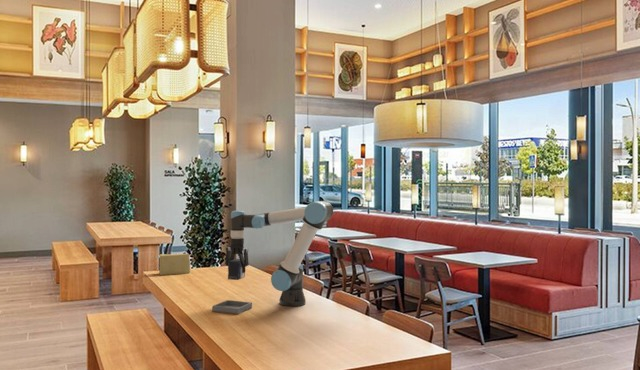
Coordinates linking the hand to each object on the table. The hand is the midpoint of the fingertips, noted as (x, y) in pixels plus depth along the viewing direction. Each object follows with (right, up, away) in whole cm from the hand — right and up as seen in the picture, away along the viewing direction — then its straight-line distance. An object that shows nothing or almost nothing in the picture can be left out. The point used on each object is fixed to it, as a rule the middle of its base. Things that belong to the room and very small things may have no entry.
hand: (236, 277), depth 297 cm
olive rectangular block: (-62, -14, +95) cm, 114 cm away
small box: (0, -1, 0) cm, 1 cm away
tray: (0, -15, -13) cm, 20 cm away
